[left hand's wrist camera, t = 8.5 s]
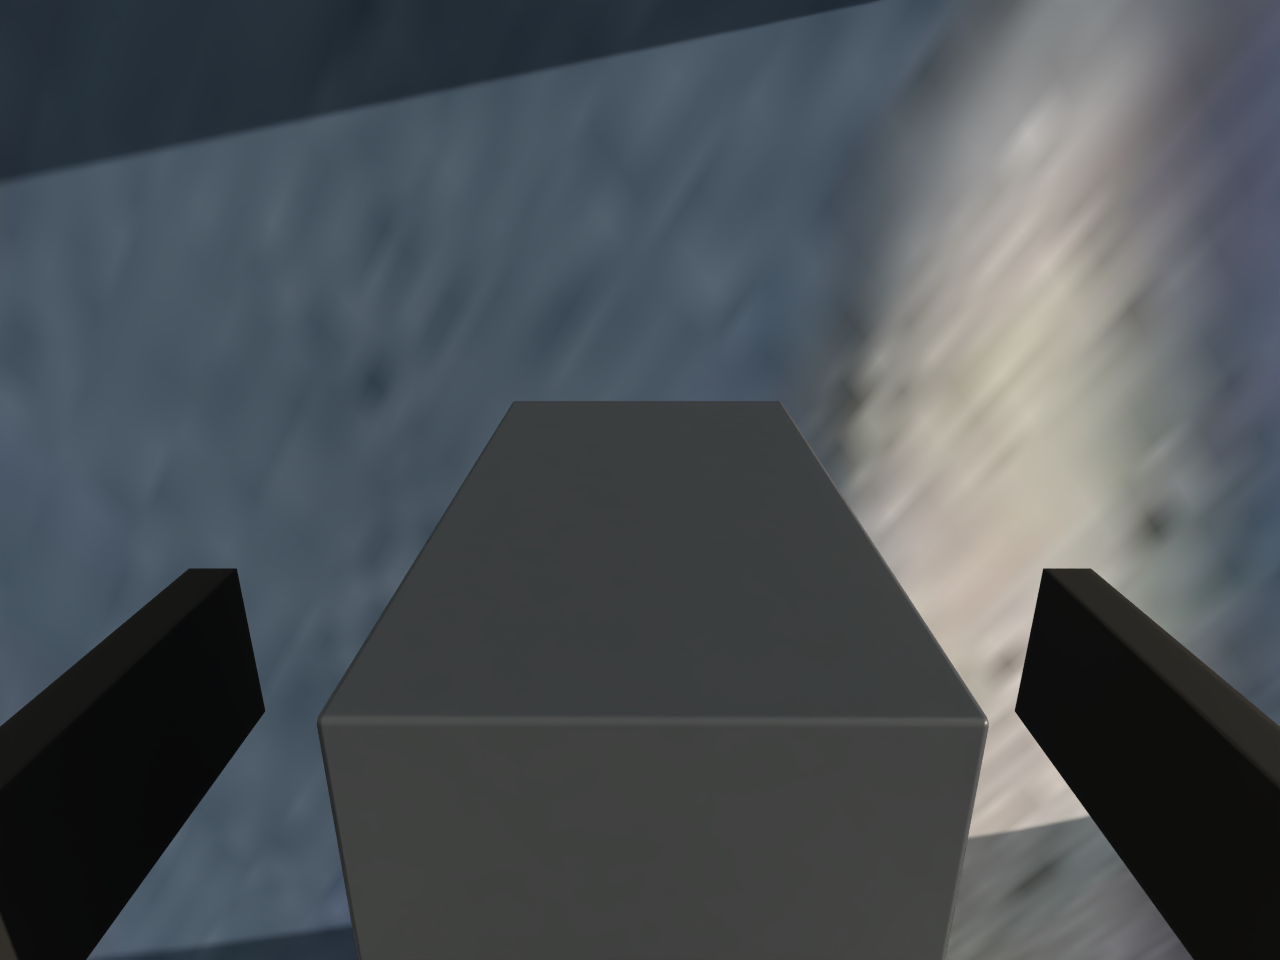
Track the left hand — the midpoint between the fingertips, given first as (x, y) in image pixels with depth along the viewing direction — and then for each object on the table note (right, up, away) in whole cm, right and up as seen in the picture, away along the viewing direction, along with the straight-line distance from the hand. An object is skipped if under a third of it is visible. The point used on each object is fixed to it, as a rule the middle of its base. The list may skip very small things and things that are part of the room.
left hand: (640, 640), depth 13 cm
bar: (0, -7, +5) cm, 9 cm away
